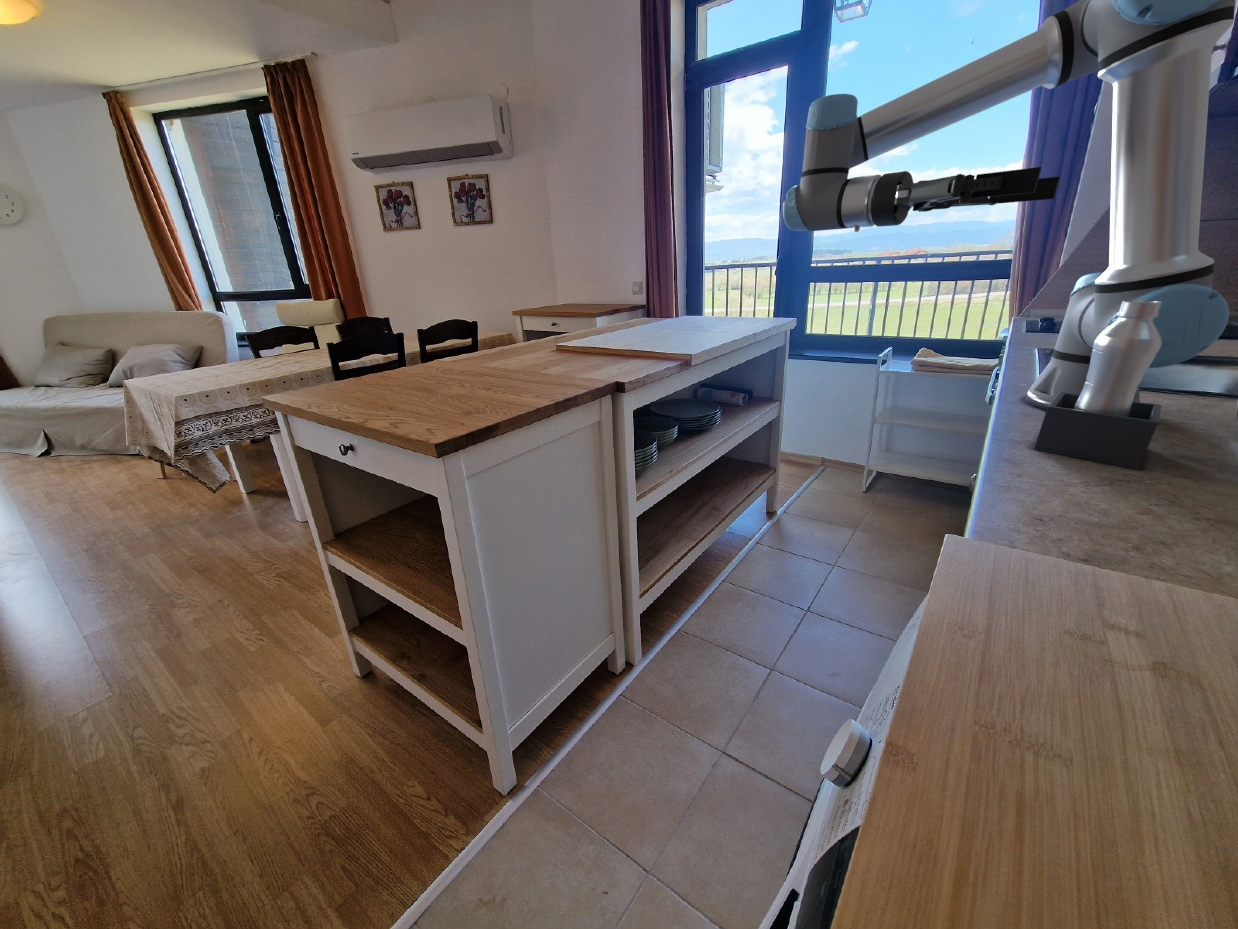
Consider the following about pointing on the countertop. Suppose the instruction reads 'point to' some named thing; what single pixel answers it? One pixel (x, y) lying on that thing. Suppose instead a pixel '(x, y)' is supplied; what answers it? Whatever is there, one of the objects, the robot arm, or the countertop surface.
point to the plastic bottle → (1121, 359)
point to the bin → (1098, 432)
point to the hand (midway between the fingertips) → (1048, 183)
